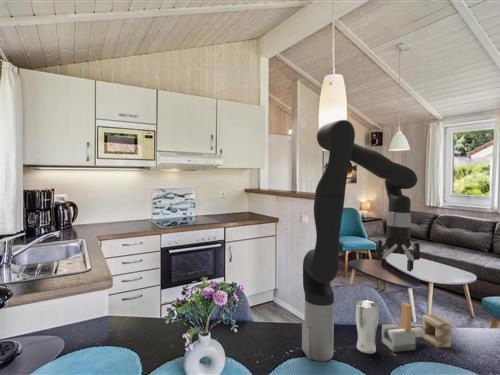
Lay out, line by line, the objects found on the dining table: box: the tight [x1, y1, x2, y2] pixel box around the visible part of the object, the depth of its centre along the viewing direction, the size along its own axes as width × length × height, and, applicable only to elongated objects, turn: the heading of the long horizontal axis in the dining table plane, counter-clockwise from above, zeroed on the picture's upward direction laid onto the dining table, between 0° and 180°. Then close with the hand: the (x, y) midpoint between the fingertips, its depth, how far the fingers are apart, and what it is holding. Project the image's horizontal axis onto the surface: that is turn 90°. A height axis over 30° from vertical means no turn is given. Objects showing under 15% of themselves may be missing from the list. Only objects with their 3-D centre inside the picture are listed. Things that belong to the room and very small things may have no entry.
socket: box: [421, 313, 452, 349], centre depth 102 cm, size 5×7×8 cm
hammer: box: [388, 302, 425, 340], centre depth 100 cm, size 12×3×12 cm, turn 100°
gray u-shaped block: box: [381, 322, 417, 353], centre depth 99 cm, size 8×6×6 cm
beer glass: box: [355, 299, 379, 355], centre depth 97 cm, size 7×7×15 cm
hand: (396, 269), depth 104 cm, fingers open, 8 cm apart
